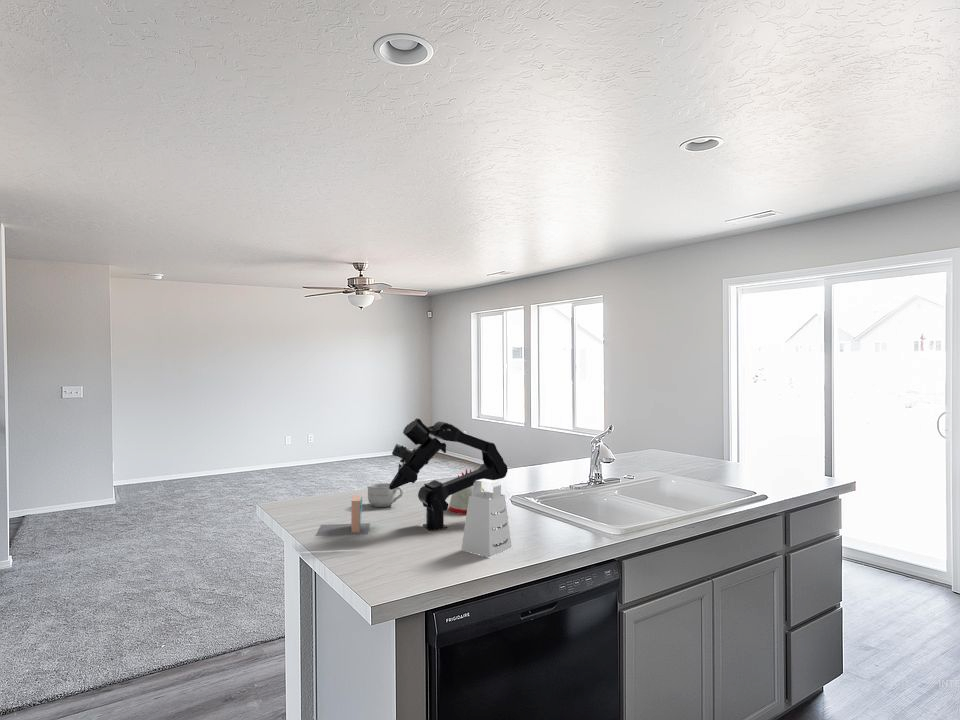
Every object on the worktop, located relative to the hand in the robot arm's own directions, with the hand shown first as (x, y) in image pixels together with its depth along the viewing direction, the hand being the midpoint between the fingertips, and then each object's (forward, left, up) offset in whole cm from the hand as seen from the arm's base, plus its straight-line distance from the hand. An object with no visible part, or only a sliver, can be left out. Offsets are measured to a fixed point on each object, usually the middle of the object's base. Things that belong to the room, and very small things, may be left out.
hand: (390, 487), depth 185 cm
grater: (-31, -19, -14) cm, 39 cm away
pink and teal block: (+4, +10, -13) cm, 17 cm away
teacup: (+30, -8, -14) cm, 34 cm away
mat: (+5, +14, -14) cm, 20 cm away
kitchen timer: (+12, -34, -14) cm, 39 cm away
